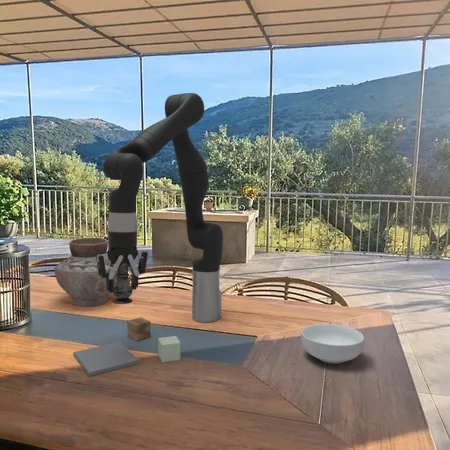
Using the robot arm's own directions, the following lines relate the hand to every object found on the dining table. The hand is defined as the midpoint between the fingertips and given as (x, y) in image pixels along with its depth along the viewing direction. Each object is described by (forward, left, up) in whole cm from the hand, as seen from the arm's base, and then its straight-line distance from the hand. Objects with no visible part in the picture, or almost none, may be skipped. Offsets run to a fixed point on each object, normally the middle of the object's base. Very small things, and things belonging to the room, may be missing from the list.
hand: (122, 290), depth 117 cm
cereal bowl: (-48, +32, -19) cm, 61 cm away
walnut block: (-9, -10, -19) cm, 23 cm away
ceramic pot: (-7, -51, -19) cm, 55 cm away
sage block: (-10, +8, -19) cm, 23 cm away
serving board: (+5, 0, -18) cm, 19 cm away
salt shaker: (0, 0, -3) cm, 3 cm away
